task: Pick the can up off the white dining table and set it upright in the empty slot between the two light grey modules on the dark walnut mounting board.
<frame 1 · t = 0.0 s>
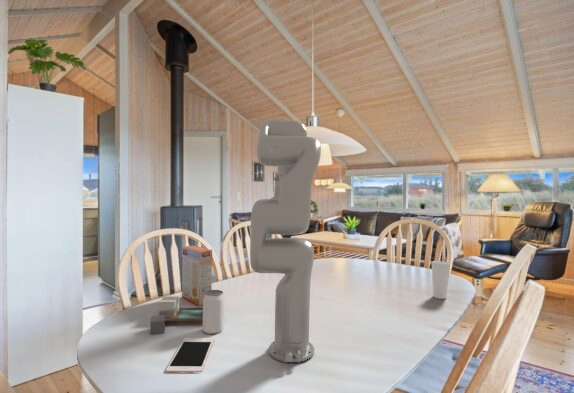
hand: (285, 222, 138), 31 cm above the table, tool pointing down, fingers open, 9 cm apart
drinking glass: (439, 298, 143), on the table
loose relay: (157, 331, 106), on the table
cell phone: (192, 356, 92), on the table
cracker box: (196, 300, 134), on the table
mounting board: (191, 318, 116), on the table
can: (212, 330, 107), on the table
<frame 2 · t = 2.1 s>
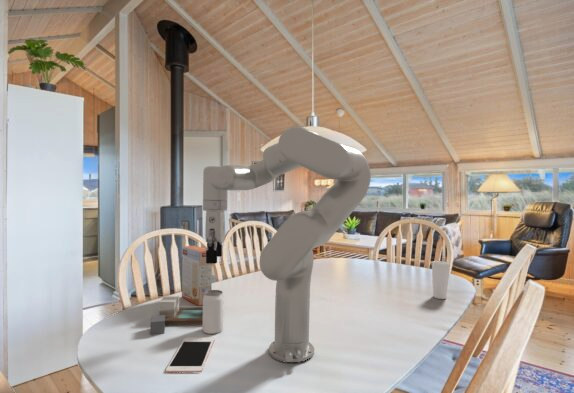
hand: (214, 259, 107), 22 cm above the table, tool pointing down, fingers open, 9 cm apart
nothing on the table moved.
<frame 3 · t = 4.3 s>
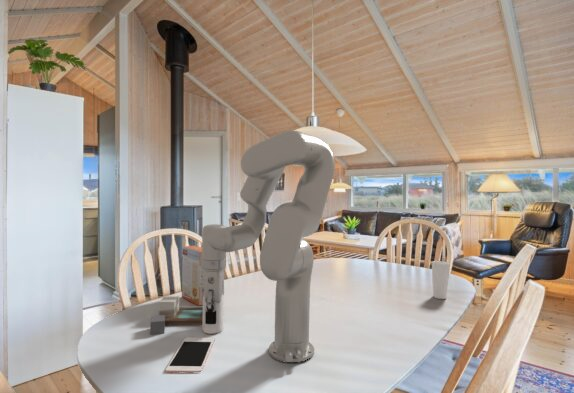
hand: (213, 317, 108), 4 cm above the table, tool pointing down, fingers open, 8 cm apart
nothing on the table moved.
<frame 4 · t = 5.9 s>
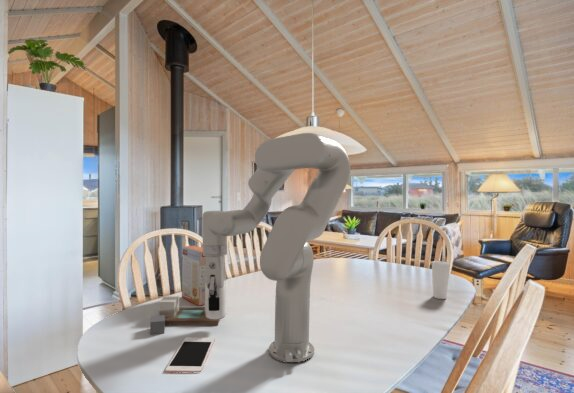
hand: (215, 305, 107), 8 cm above the table, tool pointing down, fingers closed on can, 6 cm apart
can: (216, 316, 107), point 4 cm above the table, touching gripper
everything else where it was.
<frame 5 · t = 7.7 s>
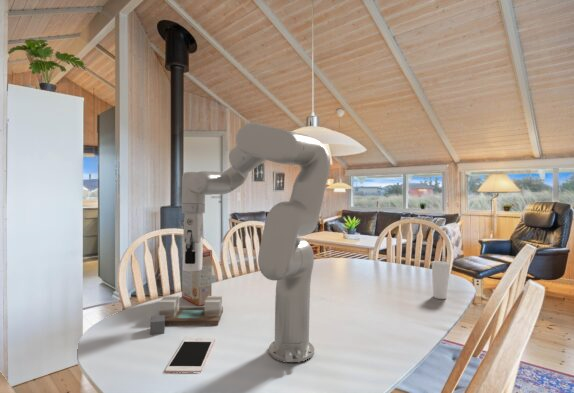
hand: (192, 260, 115), 20 cm above the table, tool pointing down, fingers closed on can, 6 cm apart
can: (192, 270, 115), point 17 cm above the table, touching gripper
everything else where it was.
when the fingers open (6 cm above the table, at t = 10.8 s): can drops 1 cm, resting on mounting board.
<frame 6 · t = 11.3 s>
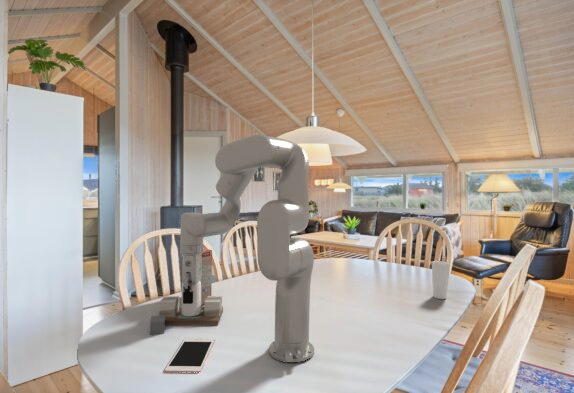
hand: (191, 298, 116), 7 cm above the table, tool pointing down, fingers open, 9 cm apart
can: (191, 314, 116), point 1 cm above the table, touching mounting board
everything else where it was.
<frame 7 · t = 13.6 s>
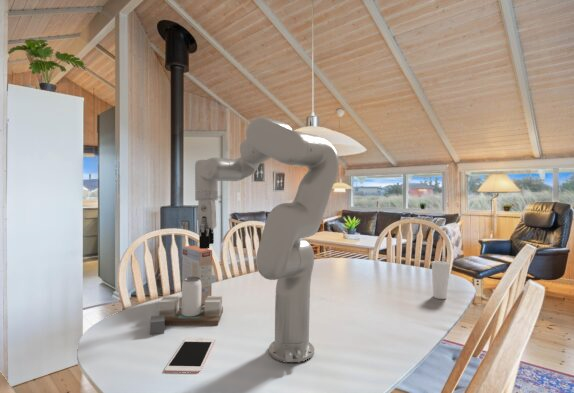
hand: (206, 245, 116), 25 cm above the table, tool pointing down, fingers open, 9 cm apart
nothing on the table moved.
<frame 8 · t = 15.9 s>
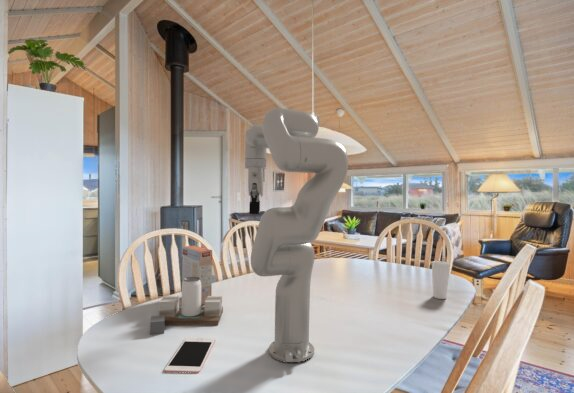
hand: (254, 212, 120), 36 cm above the table, tool pointing down, fingers open, 9 cm apart
nothing on the table moved.
at the end: can 0.3 cm off-centre on the mounting board, point 1.4 cm above the mounting board's base; can tilted 0°; the gripper is holding nothing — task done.
